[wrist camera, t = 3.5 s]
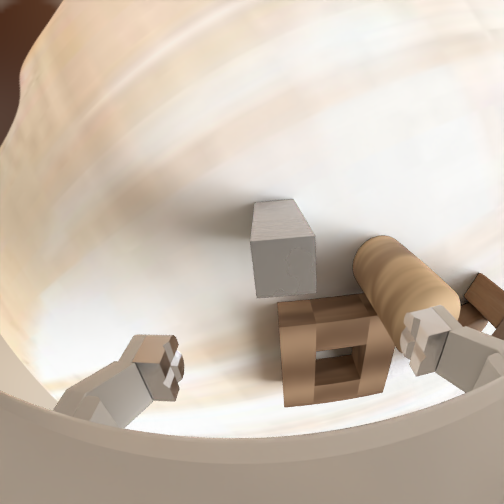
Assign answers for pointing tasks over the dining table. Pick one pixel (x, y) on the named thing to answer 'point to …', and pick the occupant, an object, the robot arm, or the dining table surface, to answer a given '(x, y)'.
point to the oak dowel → (399, 284)
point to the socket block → (332, 337)
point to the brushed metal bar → (282, 250)
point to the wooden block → (483, 306)
